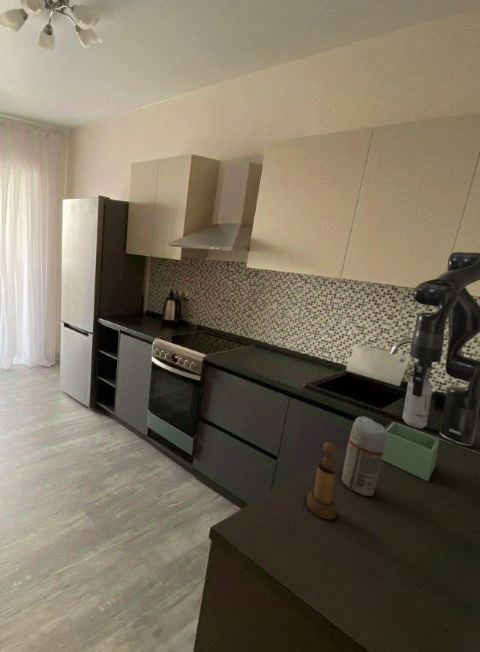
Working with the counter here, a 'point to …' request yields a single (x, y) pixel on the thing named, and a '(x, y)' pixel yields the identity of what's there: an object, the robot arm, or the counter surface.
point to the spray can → (364, 456)
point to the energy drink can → (417, 405)
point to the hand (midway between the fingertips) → (418, 393)
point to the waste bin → (410, 450)
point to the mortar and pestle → (324, 486)
